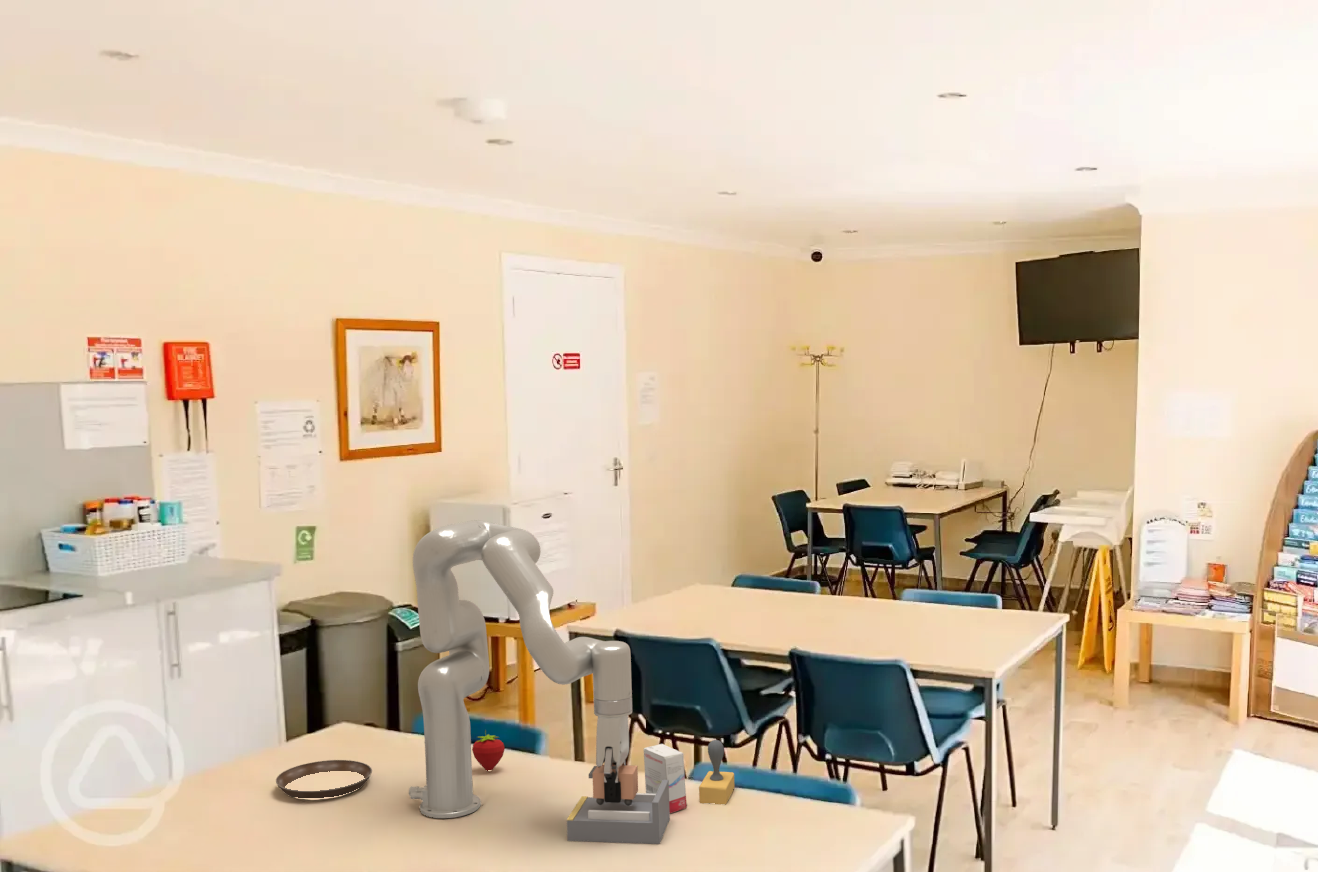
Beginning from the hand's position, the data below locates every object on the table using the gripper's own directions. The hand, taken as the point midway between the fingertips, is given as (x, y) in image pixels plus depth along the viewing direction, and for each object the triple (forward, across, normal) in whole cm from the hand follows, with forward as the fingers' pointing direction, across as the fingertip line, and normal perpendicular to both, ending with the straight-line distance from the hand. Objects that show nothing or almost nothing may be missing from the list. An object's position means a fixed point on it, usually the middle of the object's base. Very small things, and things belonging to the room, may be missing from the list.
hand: (615, 796), depth 223 cm
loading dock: (+7, 0, +1) cm, 7 cm away
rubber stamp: (+7, -20, +18) cm, 28 cm away
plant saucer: (+7, -18, -70) cm, 73 cm away
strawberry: (+7, -32, -36) cm, 49 cm away
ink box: (+7, -14, +8) cm, 17 cm away
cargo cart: (+1, 0, 0) cm, 1 cm away
